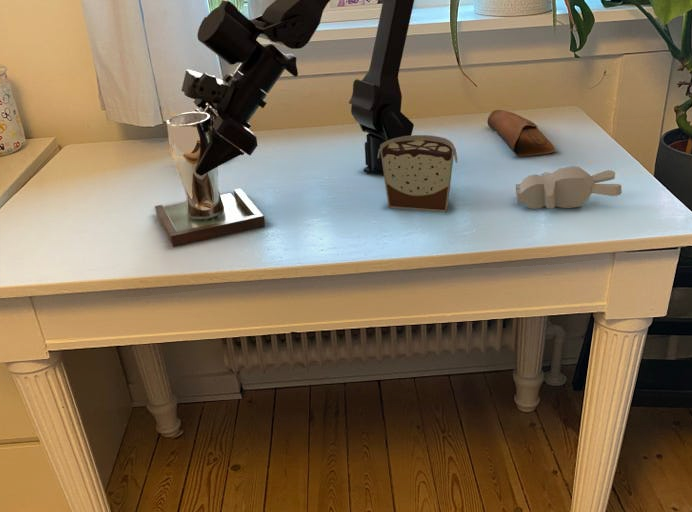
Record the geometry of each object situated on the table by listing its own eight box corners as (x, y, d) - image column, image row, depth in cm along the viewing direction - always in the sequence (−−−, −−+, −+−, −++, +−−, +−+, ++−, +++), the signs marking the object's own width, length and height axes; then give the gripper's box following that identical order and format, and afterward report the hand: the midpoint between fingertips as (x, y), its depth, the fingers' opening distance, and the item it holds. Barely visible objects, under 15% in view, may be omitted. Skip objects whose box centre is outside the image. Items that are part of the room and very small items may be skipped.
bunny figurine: (513, 168, 119) (612, 155, 116) (515, 198, 122) (612, 186, 119) (517, 190, 111) (624, 177, 108) (519, 222, 114) (623, 210, 111)
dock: (153, 210, 124) (151, 199, 123) (237, 192, 129) (235, 182, 128) (173, 247, 112) (170, 236, 111) (265, 226, 116) (263, 215, 115)
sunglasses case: (560, 150, 134) (544, 120, 131) (525, 173, 136) (509, 143, 133) (527, 121, 149) (512, 93, 146) (497, 142, 151) (481, 115, 148)
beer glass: (218, 221, 118) (201, 125, 109) (177, 220, 119) (157, 125, 111) (233, 203, 123) (217, 111, 115) (194, 203, 125) (175, 111, 116)
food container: (464, 197, 121) (465, 135, 115) (455, 212, 116) (456, 148, 110) (390, 192, 124) (388, 132, 119) (379, 207, 120) (376, 145, 114)
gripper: (196, 37, 116) (140, 121, 119) (221, 60, 101) (157, 155, 105) (252, 81, 122) (198, 160, 126) (284, 109, 108) (222, 197, 111)
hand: (193, 166), depth 117 cm, fingers closed on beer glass, 7 cm apart
